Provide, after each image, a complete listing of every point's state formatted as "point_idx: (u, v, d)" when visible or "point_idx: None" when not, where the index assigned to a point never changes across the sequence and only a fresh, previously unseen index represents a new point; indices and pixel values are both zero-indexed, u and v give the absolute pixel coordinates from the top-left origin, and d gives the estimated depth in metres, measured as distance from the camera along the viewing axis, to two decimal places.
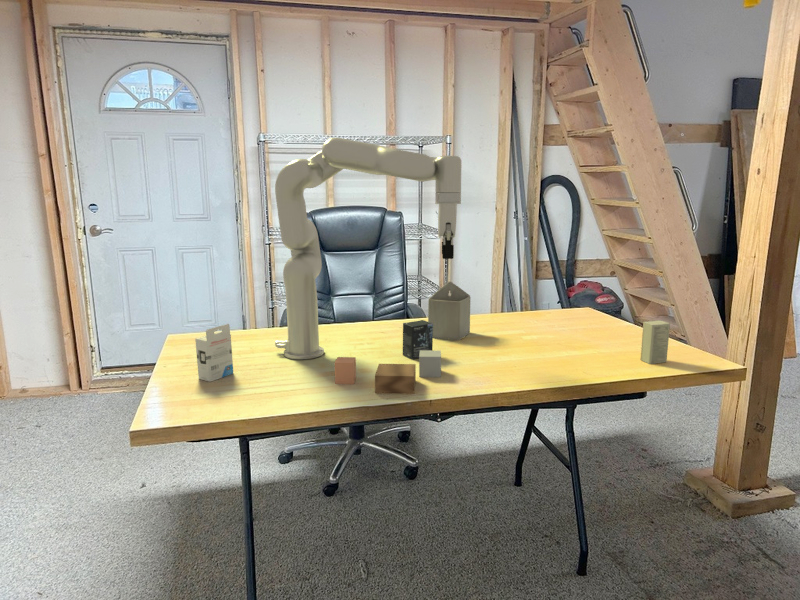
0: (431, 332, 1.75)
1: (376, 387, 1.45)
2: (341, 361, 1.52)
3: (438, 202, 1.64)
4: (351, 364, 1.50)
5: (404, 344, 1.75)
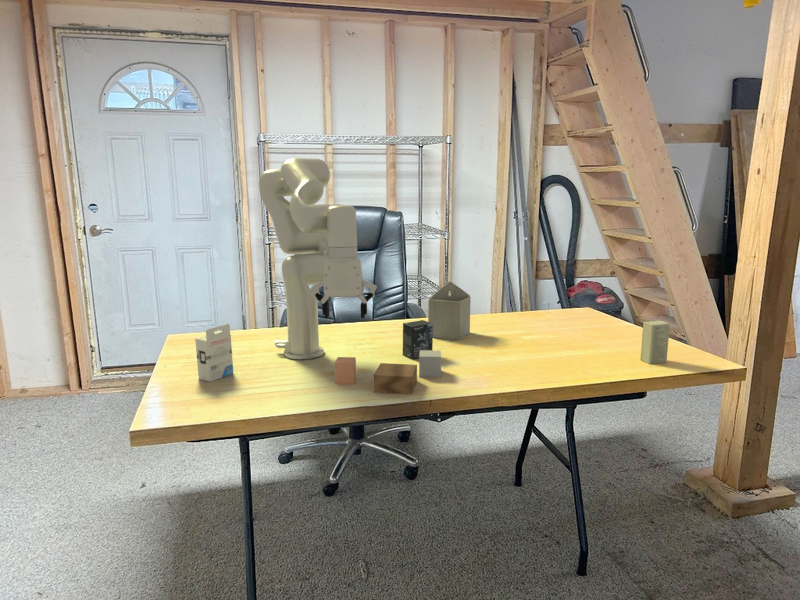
0: (431, 332, 1.75)
1: (375, 386, 1.45)
2: (341, 361, 1.52)
3: (350, 257, 1.44)
4: (351, 364, 1.50)
5: (404, 344, 1.75)
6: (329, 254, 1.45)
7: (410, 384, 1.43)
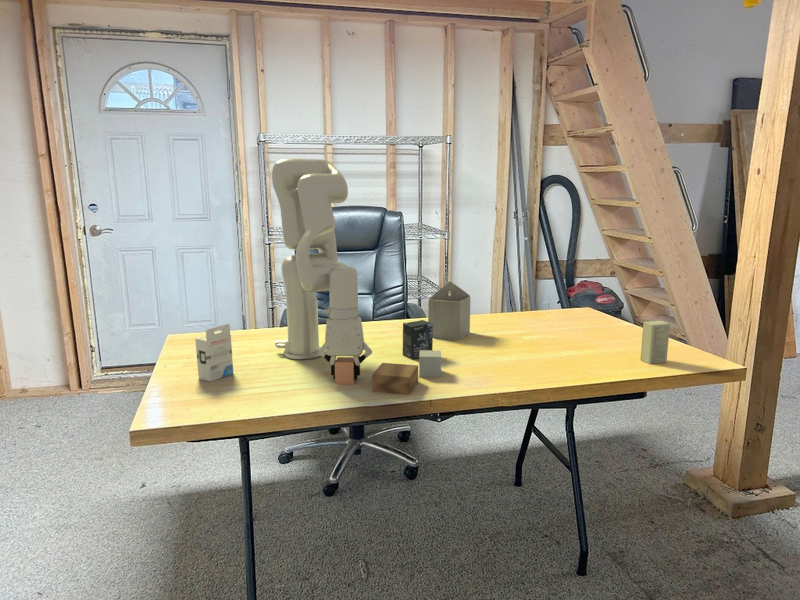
0: (431, 332, 1.75)
1: (373, 386, 1.45)
2: (341, 361, 1.52)
3: (351, 318, 1.48)
4: (351, 364, 1.50)
5: (404, 344, 1.75)
6: (331, 314, 1.49)
7: (408, 384, 1.43)
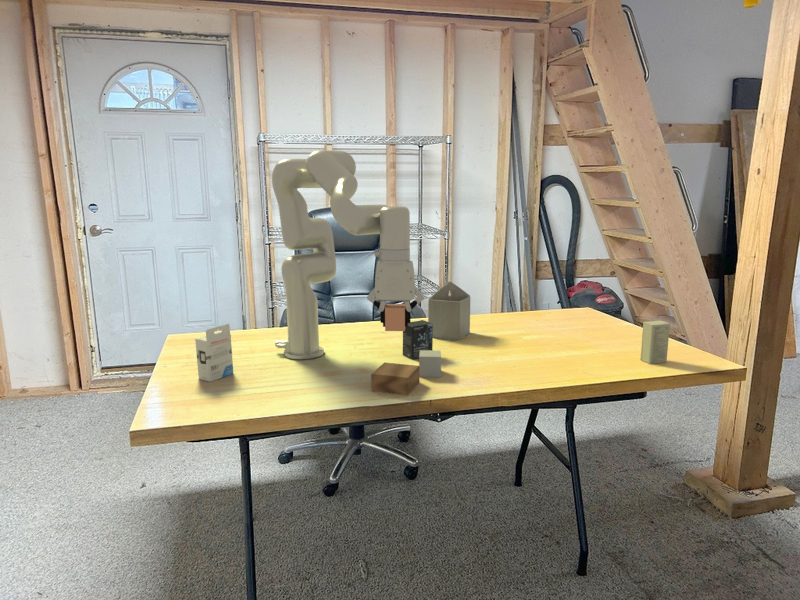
0: (431, 332, 1.75)
1: (372, 385, 1.46)
2: (391, 307, 1.44)
3: (403, 260, 1.40)
4: (402, 309, 1.42)
5: (404, 344, 1.75)
6: (381, 257, 1.41)
7: (406, 385, 1.43)
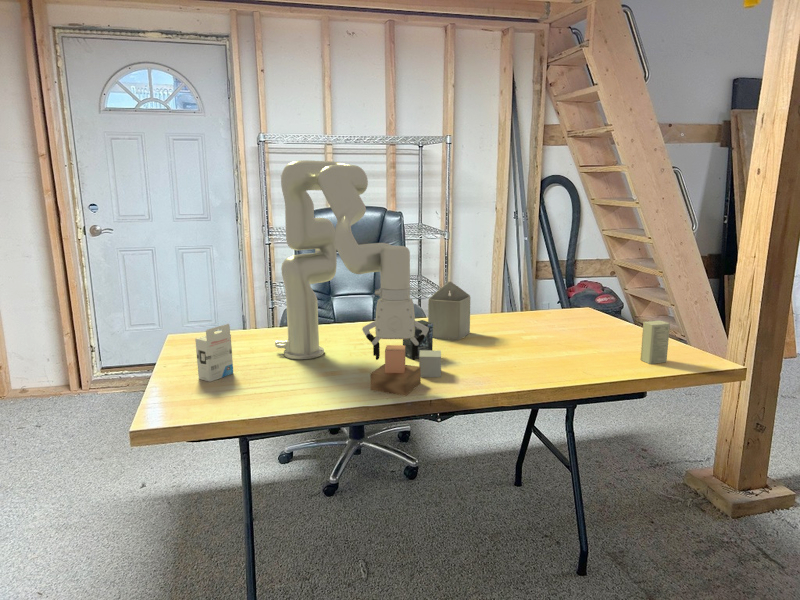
0: (431, 332, 1.75)
1: (371, 385, 1.47)
2: (391, 349, 1.46)
3: (403, 300, 1.42)
4: (402, 352, 1.45)
5: (404, 344, 1.75)
6: (382, 296, 1.43)
7: (404, 385, 1.43)
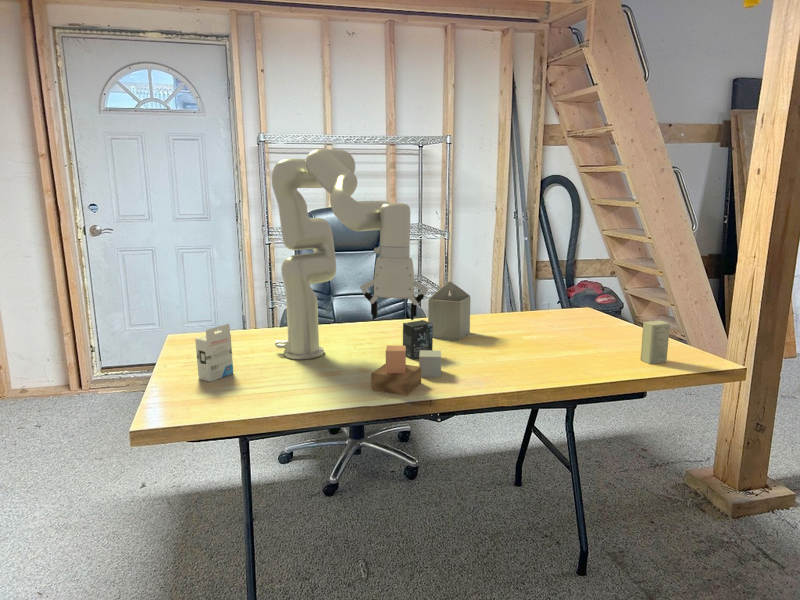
0: (431, 332, 1.75)
1: (372, 384, 1.47)
2: (392, 349, 1.46)
3: (403, 258, 1.40)
4: (403, 352, 1.45)
5: (404, 344, 1.75)
6: (381, 253, 1.41)
7: (405, 385, 1.43)
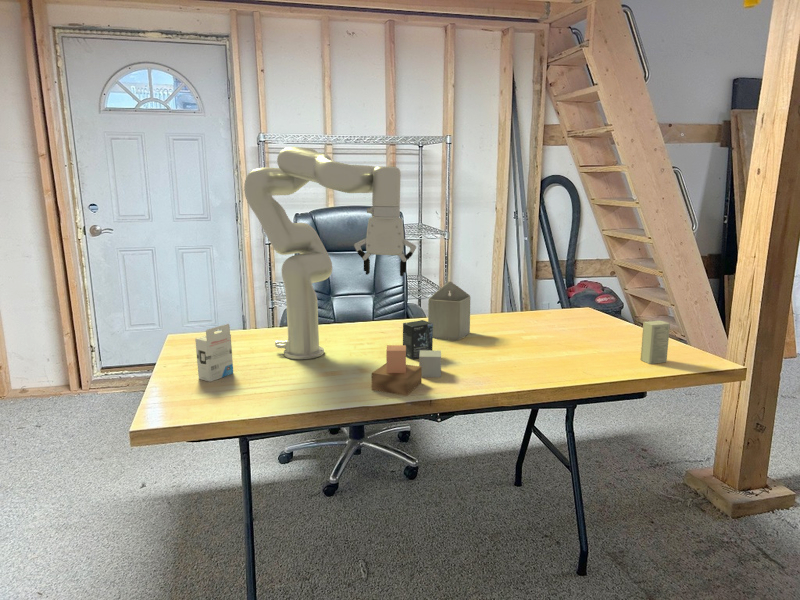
0: (431, 332, 1.75)
1: (372, 384, 1.47)
2: (393, 349, 1.46)
3: (393, 217, 1.51)
4: (404, 352, 1.45)
5: (404, 344, 1.75)
6: (373, 213, 1.52)
7: (405, 385, 1.43)
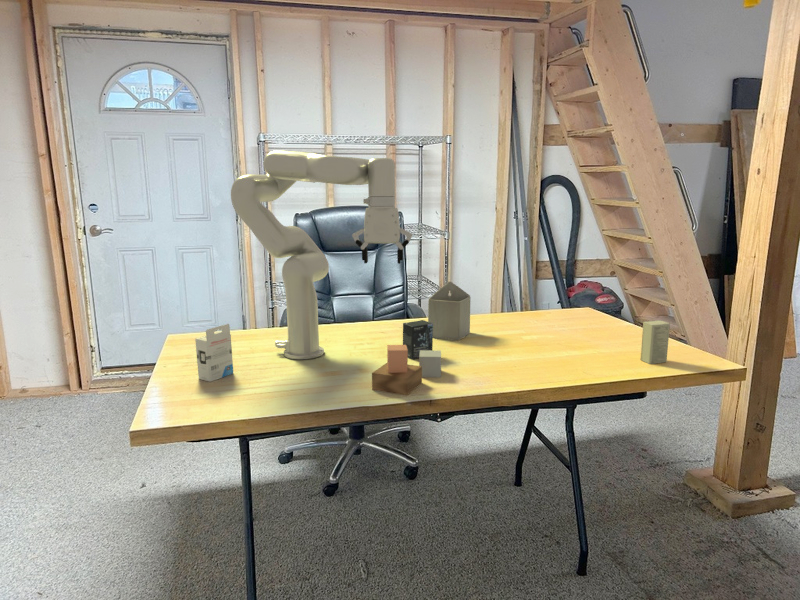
0: (431, 332, 1.75)
1: (373, 384, 1.47)
2: (394, 349, 1.46)
3: (389, 206, 1.57)
4: (405, 352, 1.45)
5: (404, 344, 1.75)
6: (370, 203, 1.58)
7: (405, 385, 1.43)
